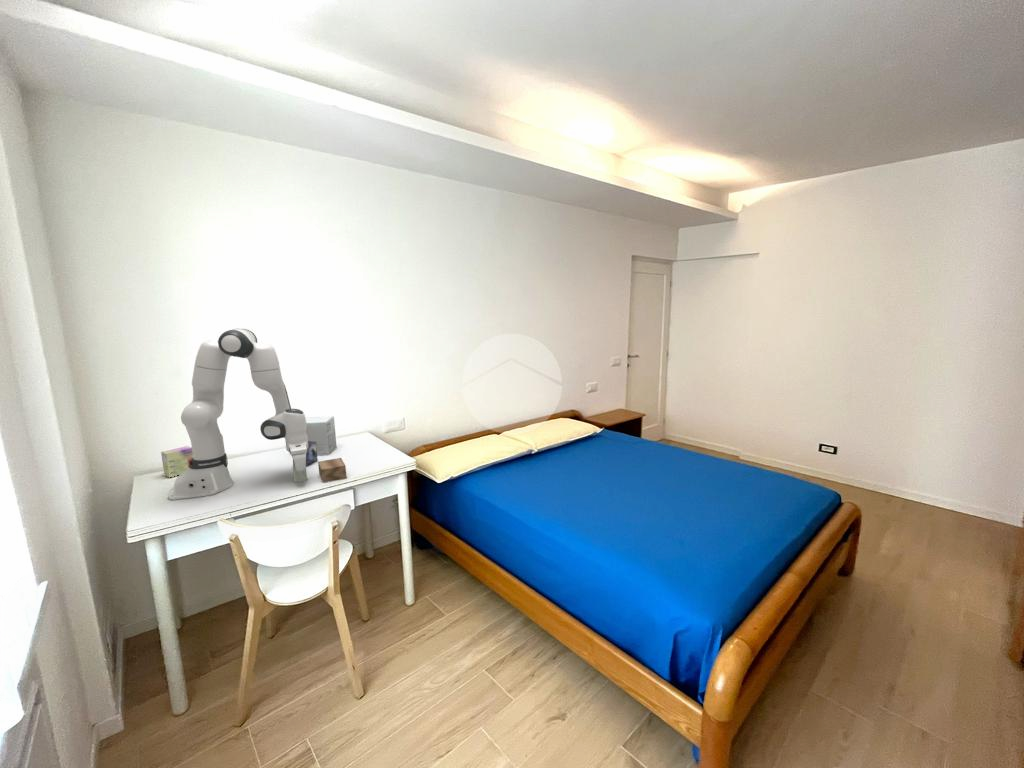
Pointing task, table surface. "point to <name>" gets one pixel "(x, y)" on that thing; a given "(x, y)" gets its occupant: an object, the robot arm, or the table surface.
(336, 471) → the walnut block
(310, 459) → the small box
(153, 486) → the table surface
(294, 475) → the sage block
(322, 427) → the supplement box
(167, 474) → the box
